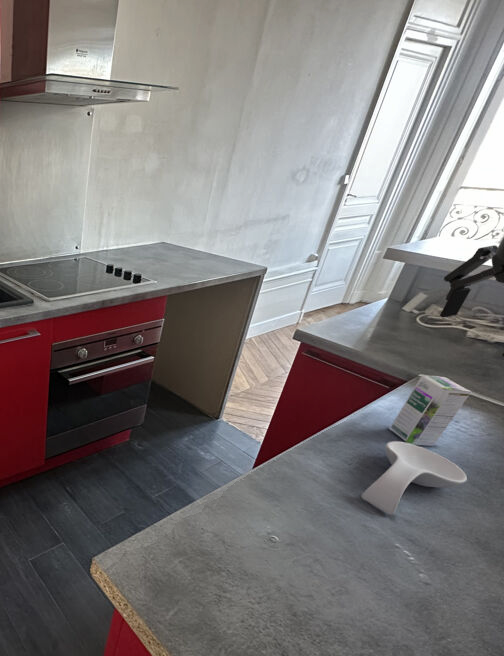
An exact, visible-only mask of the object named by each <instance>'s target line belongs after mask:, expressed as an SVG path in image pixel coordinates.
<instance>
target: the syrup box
mask: <svg viewBox="0 0 504 656" xmlns="http://www.w3.org/2000/svg"><path fill="white" fill-rule="evenodd" d="M471 393H472V390H470V389H467V388H465V387H463V386H462V385H460V384H457V383H456V382H454V381H453V380H451V379H449V378H448V377H446V376H438V375H421V376H420V378H419V379H418V381H417V382H416V384H415V385H414V387H413V389H412V390H411V392H410V394H409V396H408V398H407V399H406V401H405V402H404V404H403V405H402V407H401V409H400V411H399V412H398V413H397V415H396V417H395V419H394V420H393V421H392V423H391V424H390V426H389V428H388V429H389V430H390V431H391V432H393V433H394V434H396V436H398V437H399V438H400V439H402V440H403V441H404V442H405V443H410V444H413V445H416V446H432V447H433V446H435V445H436V444H437V443H438V441H439V439H440V438H441V436H442V435H443V433H444V432H445V431H446V429H447V428H448V426H449V425H450V424H451V422H452V420H453V419H454V418H455V416H456V415H457V413H458V412H459V410H460V409H461V408H462V406H463V405H464V403H465V402H466V400H467V399H468V397H470V395H471Z"/></svg>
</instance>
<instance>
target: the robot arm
mask: <svg viewBox="0 0 504 656" xmlns="http://www.w3.org/2000/svg"><path fill="white" fill-rule="evenodd" d="M489 260H491V266H492V267H490V268H488V269H485V270H482V271H480V272H478V273H475V274H472V275H470V274H471V273H472V272H474V271H475V270H477V269H478V268H479V267H481V266H483V265H484V264H485V263H487V262H489ZM468 275H470V276H468ZM492 278H495V281H496V282H498V283H500V284H504V237H503V238H502V239H501V241H500V243H499V245H498V246H497V244H496V245H495V244H494V245H488V246H483V247H478V249H477V250H476V251H475V252H474V254H473V255H472V256H471V257H470V258H468V259H467V260H466V261H465V262H463V263H461V264H460V265H459V266H458V267H456V268H455V269H454V270H452V271H451V272H449V273H448V274H447V275H445V276H444V277H443V280H444V282H447V283H449V287H450V289H449V291H448V293H447V294H446V297H445V300H446V302H445V304H444V307H443V309H442V310H441V312H440V314H439V317H441V318H449V317H453V316H457V315H458V313H459V312H460V311H461V308H462V307H463V304H464V303H465V301H466V299H467V298H468V296H469V294H470V292H471V288H470V287H471V286H472V285H475V284H478V283H481V282H483V281H486V280H489V279H492ZM501 356H502V357H504V352H503V353H502V354H501Z"/></svg>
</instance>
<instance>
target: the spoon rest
mask: <svg viewBox="0 0 504 656" xmlns="http://www.w3.org/2000/svg"><path fill="white" fill-rule="evenodd" d="M385 453H386V456H387V459H388V461H389V463H390V464H391V466H389V468H388V469H387V470H386V471H385V472H384V473H383V474H382V475H381V476H380V477H379V478H377V479H376V480H375V481H374V482H373V483H372V484H370V485H369V486H368V487H367V489H366V490H364V491H363V493H362V494H361V495H360V496H361V497H360V498H361V499H362V500H364V501H365V502H368V503H369V504H371V505H372V506H374V507H375V508H377V509H379V510H381V511H382V512H384V513H385V514H387V515H390V516H393V515H394V514H395V512H396V510H397V508H398V506H399V503H400V501H401V498H402V496H403V494H404V492H405V490H406V489H407V488H408V486H409V485H410V483H413V484H414V485H418V486H422V487H427V488H428V487H429V488H437V489H438V488H439V489H443V488H444V489H445V488H446V489H447V488H453V487H457V486H458V487H459V486H461V485H462V484H464V483H466V482H467V481H468V478H467V474H466V472H465V471H464V470H462V468H461V467H460V466H458V465H457V464H456V463H454V462H453V461H451V460H449V459H448V458H446V457H445V456H443V455H440V454H438V453H435V452H434V451H431V450H429V449H427V448H426V447H422V446H420V445H413V444H410V443H407V442H406V441H400V440H399V441H398V440H397V441H396V440H394V441H393V440H392V441H389V442H387V443H386V444H385Z"/></svg>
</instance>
